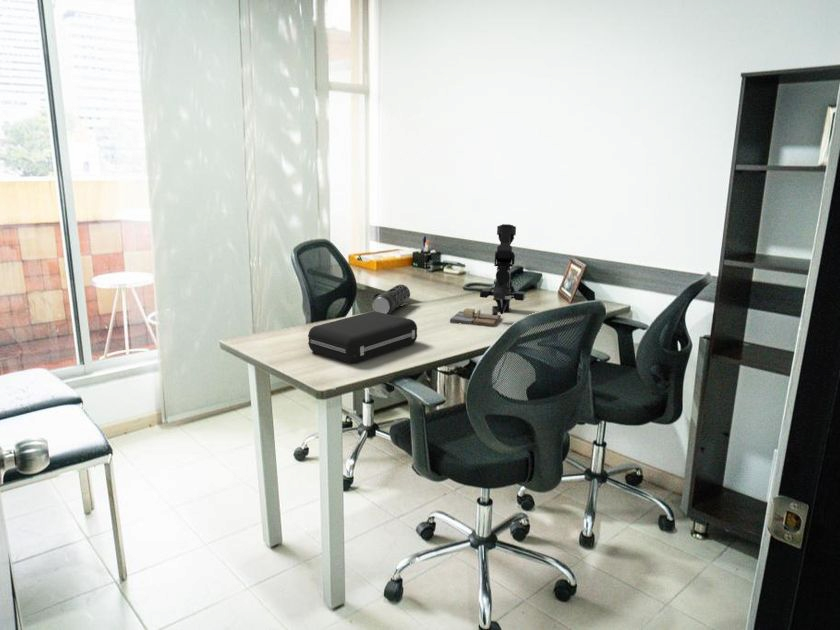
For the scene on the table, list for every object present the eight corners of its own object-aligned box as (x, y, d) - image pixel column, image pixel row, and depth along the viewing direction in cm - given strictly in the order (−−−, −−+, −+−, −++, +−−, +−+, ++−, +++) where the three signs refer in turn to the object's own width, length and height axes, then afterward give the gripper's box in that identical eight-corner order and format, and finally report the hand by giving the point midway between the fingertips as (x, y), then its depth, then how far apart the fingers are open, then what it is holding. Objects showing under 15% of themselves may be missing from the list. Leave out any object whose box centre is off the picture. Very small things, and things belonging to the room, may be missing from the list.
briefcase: (363, 329, 259) (362, 306, 257) (421, 344, 239) (421, 319, 237) (293, 349, 232) (292, 323, 230) (352, 367, 213) (352, 339, 210)
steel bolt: (479, 316, 273) (480, 304, 272) (498, 317, 270) (498, 306, 269) (478, 317, 271) (478, 305, 270) (496, 319, 268) (497, 307, 267)
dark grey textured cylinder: (410, 305, 299) (410, 284, 297) (391, 319, 274) (390, 296, 271) (392, 304, 302) (392, 283, 300) (370, 318, 276) (370, 295, 274)
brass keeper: (465, 315, 276) (466, 308, 275) (480, 316, 274) (480, 309, 273) (463, 317, 272) (463, 310, 272) (478, 318, 270) (478, 311, 269)
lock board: (459, 314, 283) (459, 311, 282) (500, 318, 277) (500, 315, 276) (449, 322, 269) (449, 319, 269) (492, 326, 263) (493, 323, 263)
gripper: (477, 280, 260) (476, 316, 264) (521, 283, 254) (520, 320, 258) (483, 275, 270) (482, 310, 274) (526, 278, 264) (524, 314, 268)
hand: (501, 314), depth 268 cm, fingers closed
